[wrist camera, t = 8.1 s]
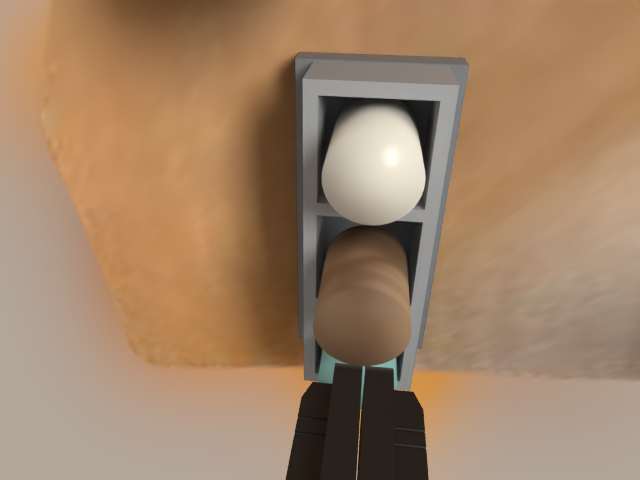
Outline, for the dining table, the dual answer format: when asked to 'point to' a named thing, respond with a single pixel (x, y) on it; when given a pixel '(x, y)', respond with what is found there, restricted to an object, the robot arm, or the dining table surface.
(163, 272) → the dining table surface
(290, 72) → the dining table surface
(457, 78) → the grey compartment tray
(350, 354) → the brown rounded cylinder
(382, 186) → the white rounded piece
